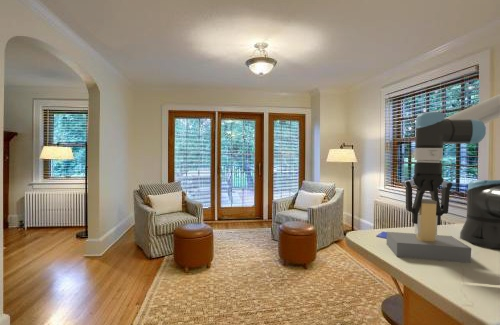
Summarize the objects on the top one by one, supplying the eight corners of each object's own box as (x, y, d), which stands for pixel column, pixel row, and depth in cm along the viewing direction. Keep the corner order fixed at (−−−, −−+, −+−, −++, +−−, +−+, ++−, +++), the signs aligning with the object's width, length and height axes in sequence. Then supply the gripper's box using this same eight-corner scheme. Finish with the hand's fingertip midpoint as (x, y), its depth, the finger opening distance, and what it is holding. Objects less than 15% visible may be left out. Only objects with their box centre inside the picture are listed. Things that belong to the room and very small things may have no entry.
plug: (429, 244, 92) (431, 199, 92) (435, 248, 88) (437, 201, 87) (415, 243, 93) (417, 198, 92) (420, 247, 89) (422, 200, 88)
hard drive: (375, 235, 107) (412, 243, 99) (383, 231, 113) (418, 237, 105) (375, 239, 107) (412, 247, 99) (383, 234, 113) (418, 242, 105)
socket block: (450, 250, 94) (451, 235, 94) (470, 264, 83) (471, 247, 82) (386, 245, 99) (386, 231, 98) (396, 258, 87) (397, 242, 87)
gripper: (402, 161, 88) (400, 235, 88) (465, 162, 84) (461, 239, 85) (395, 160, 95) (393, 229, 96) (452, 161, 91) (449, 232, 92)
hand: (425, 234), depth 90 cm, fingers closed on plug, 4 cm apart
